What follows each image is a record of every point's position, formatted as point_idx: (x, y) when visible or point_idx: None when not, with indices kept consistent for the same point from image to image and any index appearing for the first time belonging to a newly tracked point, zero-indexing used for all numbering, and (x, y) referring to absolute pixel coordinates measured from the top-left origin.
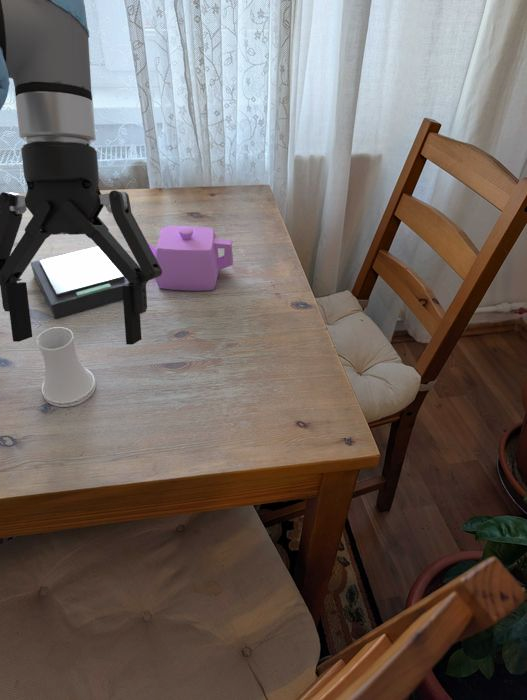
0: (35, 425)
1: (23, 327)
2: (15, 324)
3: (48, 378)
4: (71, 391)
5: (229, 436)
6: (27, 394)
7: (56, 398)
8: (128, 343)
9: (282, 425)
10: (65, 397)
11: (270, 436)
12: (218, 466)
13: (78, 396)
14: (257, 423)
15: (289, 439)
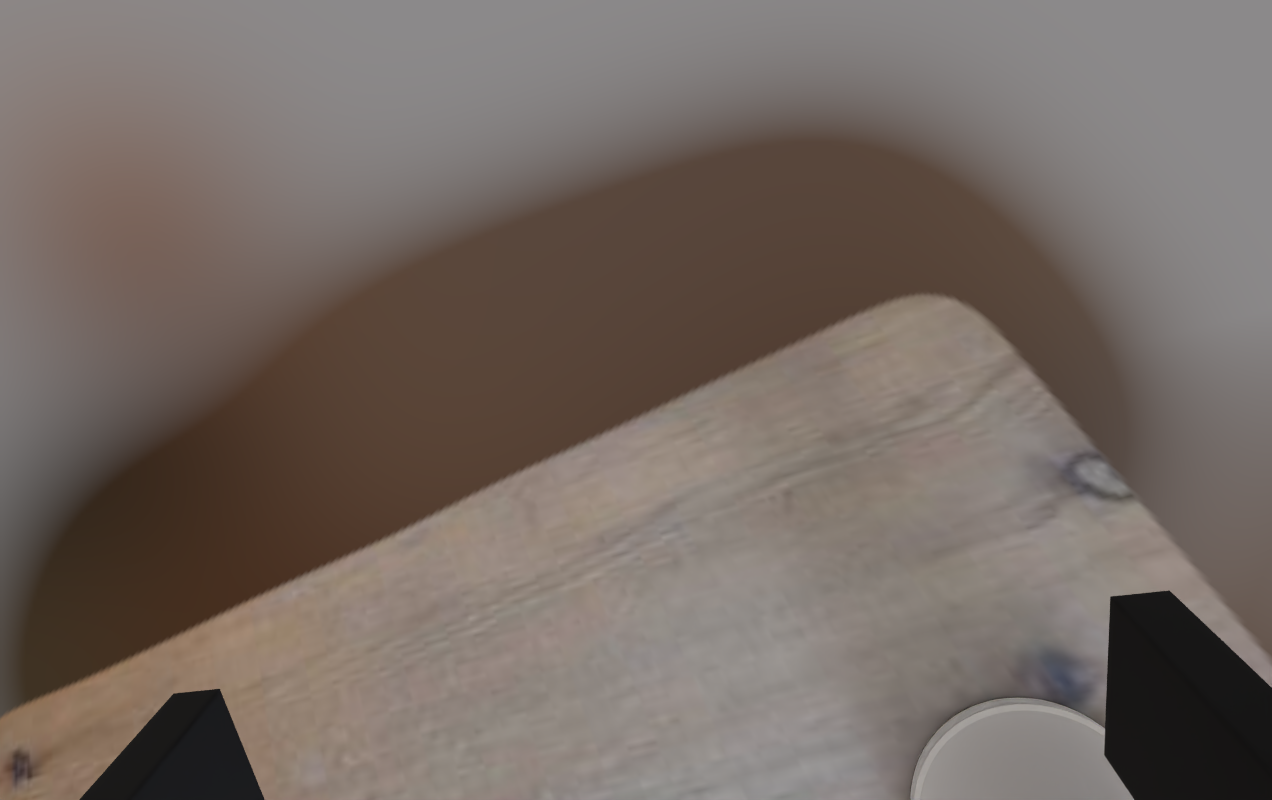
0: (1047, 578)
1: (1170, 745)
2: (1221, 696)
3: (1107, 790)
4: (973, 761)
5: (344, 702)
6: None
7: (1032, 720)
8: (199, 696)
9: None
10: (991, 731)
11: None
12: (349, 571)
13: (942, 755)
14: (272, 782)
15: None
